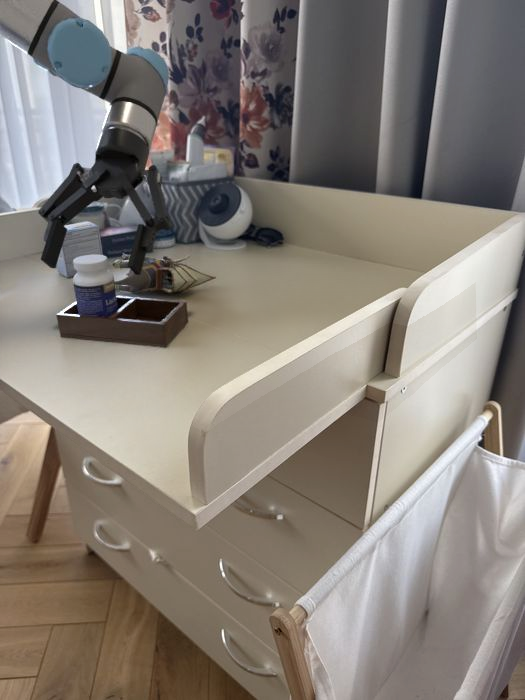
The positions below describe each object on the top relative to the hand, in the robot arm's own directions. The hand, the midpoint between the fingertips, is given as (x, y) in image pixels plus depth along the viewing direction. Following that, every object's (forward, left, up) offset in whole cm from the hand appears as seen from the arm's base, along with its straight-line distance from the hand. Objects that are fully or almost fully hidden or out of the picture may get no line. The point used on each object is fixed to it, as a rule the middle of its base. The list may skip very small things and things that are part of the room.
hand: (90, 267), depth 77 cm
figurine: (+3, +17, -10) cm, 20 cm away
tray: (+4, 0, -9) cm, 10 cm away
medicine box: (-17, +23, -10) cm, 30 cm away
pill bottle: (0, 0, -9) cm, 9 cm away
